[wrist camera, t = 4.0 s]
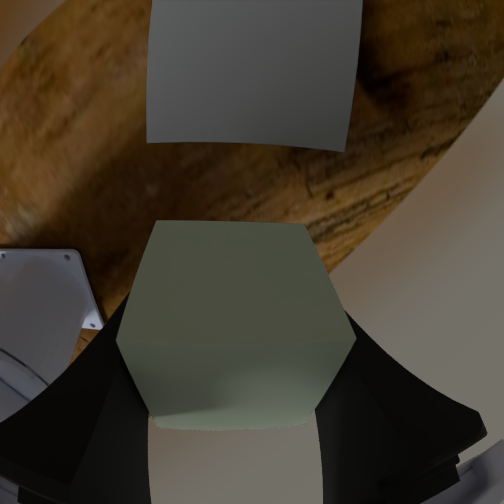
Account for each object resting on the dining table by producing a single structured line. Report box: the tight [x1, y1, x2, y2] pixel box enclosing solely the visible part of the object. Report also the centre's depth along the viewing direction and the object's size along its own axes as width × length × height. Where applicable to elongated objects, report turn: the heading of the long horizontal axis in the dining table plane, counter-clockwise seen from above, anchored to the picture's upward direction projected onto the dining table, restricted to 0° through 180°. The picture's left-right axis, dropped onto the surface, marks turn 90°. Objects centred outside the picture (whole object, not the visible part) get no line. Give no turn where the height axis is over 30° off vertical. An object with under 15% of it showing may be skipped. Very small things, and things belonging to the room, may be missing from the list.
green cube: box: [116, 220, 356, 430], centre depth 9 cm, size 5×5×5 cm
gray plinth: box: [146, 0, 363, 152], centre depth 11 cm, size 9×9×3 cm
